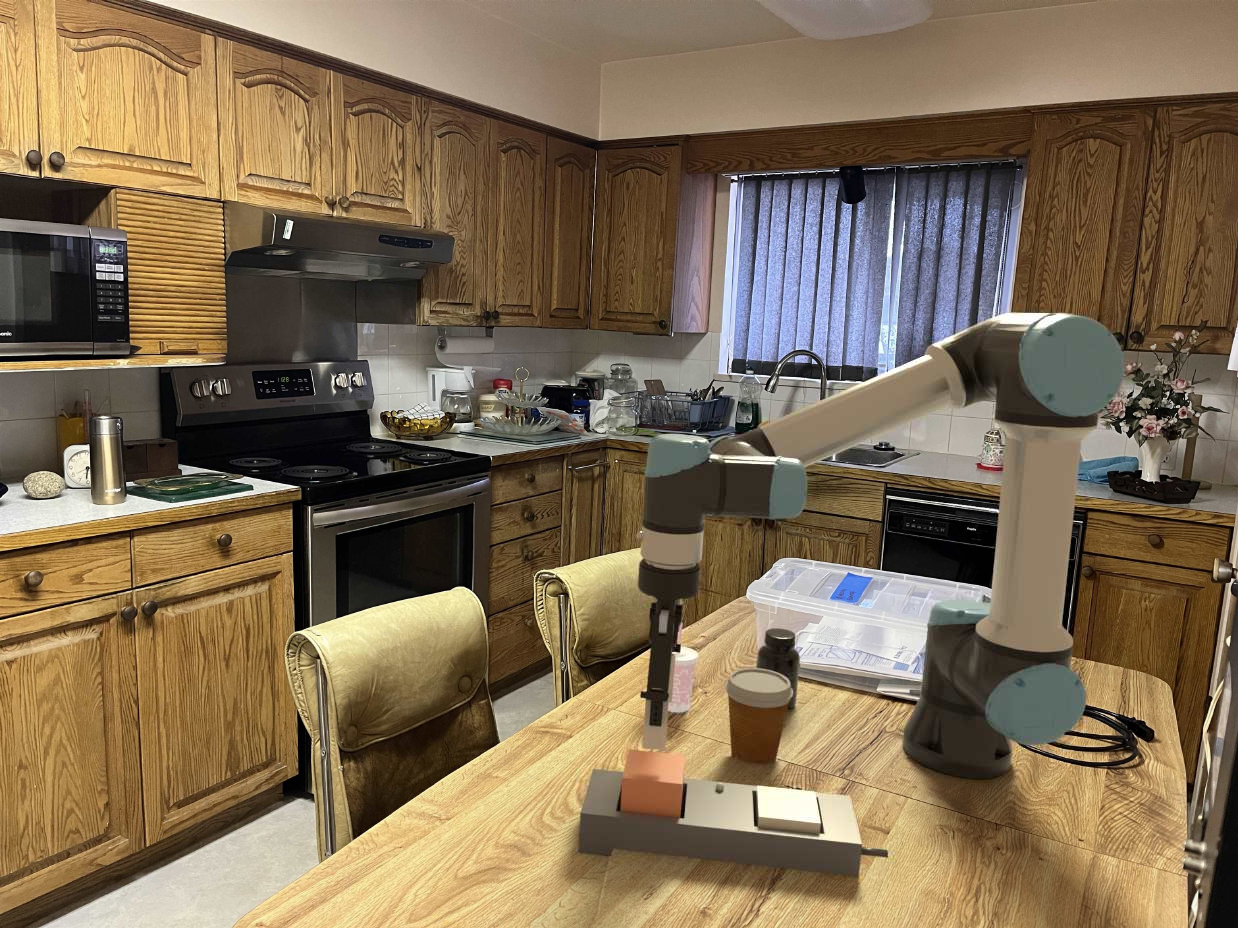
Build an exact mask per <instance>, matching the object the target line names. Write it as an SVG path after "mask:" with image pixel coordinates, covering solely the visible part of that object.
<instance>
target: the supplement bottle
mask: <svg viewBox="0 0 1238 928" xmlns="http://www.w3.org/2000/svg"><path fill="white" fill-rule="evenodd" d="M764 634H765V635H764V636H765V637H764V644H763V645H762V646H761V647H760V648H758V651H757V655H756V667H755V668H760V669H766V670H771V671H774V672H777V673H780V674H782V675H784V676H785V677H787V678H788V679H789V681H790V684H791V688H792V690H793V696H792V697H791V699H790V701H789V703H788V708H787V711H789V710H792V709H793V708H794V707H795V706H796V703H797V694H798V686H799V685H798V684H799V674H800V673H799V672H800V664H801V661H800V659H801V656H800V653H799V651H798V650H797V649H795V646H796V634H795V632H793V631H792V630H788V629H784V628H778V627H777V628H775V627H774V628H769V629H767V630H765V633H764Z"/></svg>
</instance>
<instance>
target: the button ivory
mask: <svg viewBox="0 0 1238 928" xmlns="http://www.w3.org/2000/svg"><path fill="white" fill-rule="evenodd" d="M756 786H757V792H756V804H755V816H754V826H755V827H764V828H773V829H782V830H791V831H800V832H809V833H819V834H820V825H821V822H820V817H819V811H818V805H817V800H816V794H815V792H816V791H811V790H802V789H794V788H793V789H792V788H784V787H773V786H765V785H756Z"/></svg>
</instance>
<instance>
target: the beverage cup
mask: <svg viewBox="0 0 1238 928" xmlns="http://www.w3.org/2000/svg"><path fill="white" fill-rule="evenodd" d="M682 637H683V622H681V625H680V626H679V628H678V639H677V644H681V645H682V639H683V638H682ZM672 654H676V656H675V669H674V682H673V695H672V702H669V706H668V712H671V713H684V712H687V711H688V710H690V709H691V707H690V706H691V699H692V693H693V687H694V686H693V685H694V680H695V678H694V677H695V670H696V664H697V662H698V660H699V659H698V658H699V653H698V652H697V651H696V650H695V649H692V648H691V647H690V648H689V647H687V646H681V651H680V653H677V652H672Z"/></svg>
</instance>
